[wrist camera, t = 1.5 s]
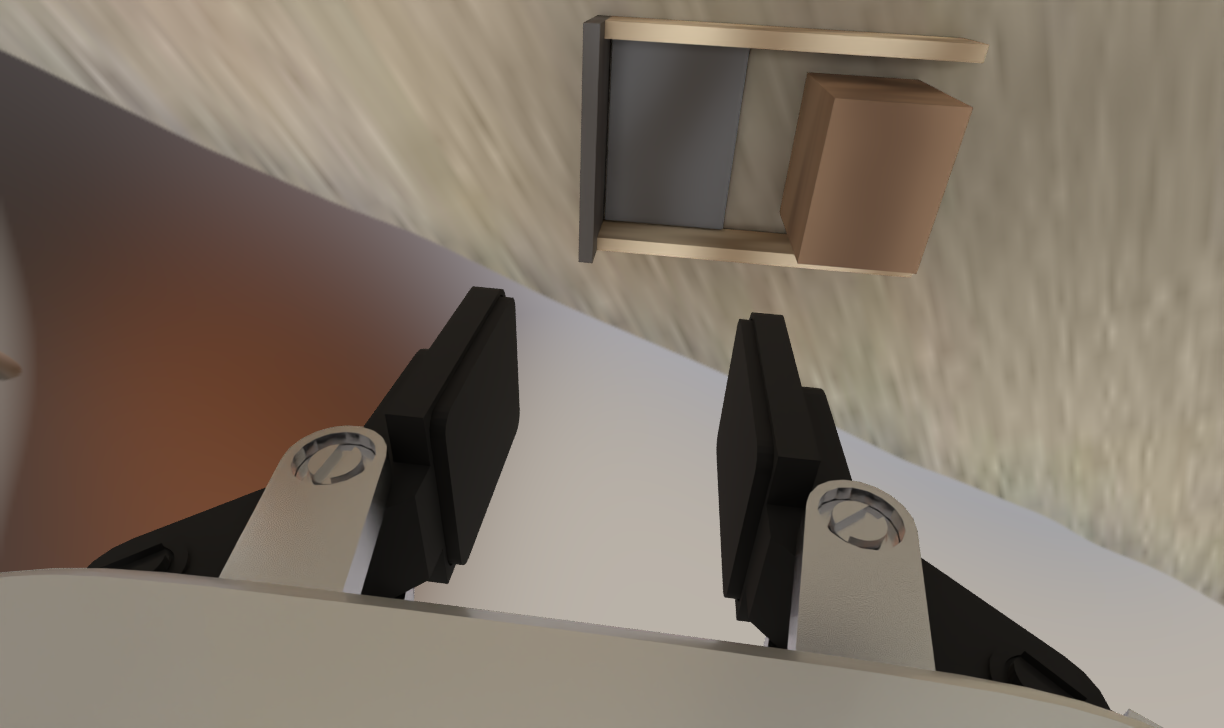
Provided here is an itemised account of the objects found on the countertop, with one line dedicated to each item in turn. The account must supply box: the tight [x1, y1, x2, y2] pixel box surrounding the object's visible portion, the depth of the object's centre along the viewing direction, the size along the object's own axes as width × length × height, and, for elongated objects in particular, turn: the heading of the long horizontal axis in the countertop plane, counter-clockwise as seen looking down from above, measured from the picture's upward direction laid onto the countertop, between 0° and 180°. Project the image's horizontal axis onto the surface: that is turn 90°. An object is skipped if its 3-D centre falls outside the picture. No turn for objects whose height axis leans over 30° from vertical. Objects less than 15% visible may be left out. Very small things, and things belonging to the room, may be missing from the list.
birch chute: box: [579, 15, 989, 278], centre depth 26 cm, size 15×9×4 cm, turn 87°
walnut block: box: [780, 72, 973, 274], centre depth 25 cm, size 4×6×6 cm
